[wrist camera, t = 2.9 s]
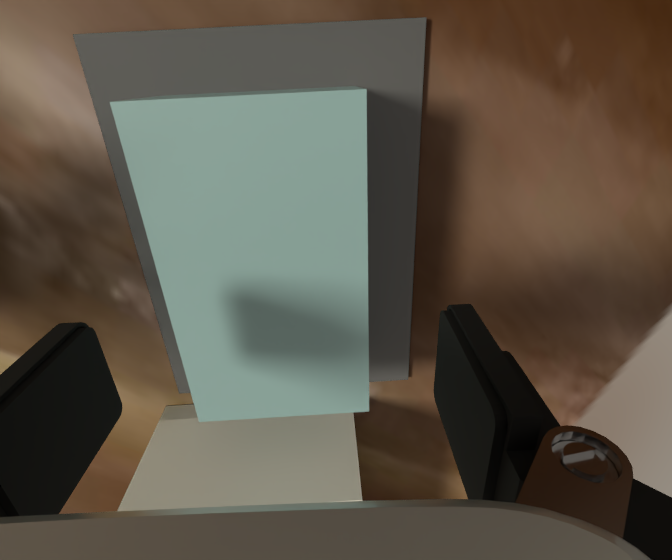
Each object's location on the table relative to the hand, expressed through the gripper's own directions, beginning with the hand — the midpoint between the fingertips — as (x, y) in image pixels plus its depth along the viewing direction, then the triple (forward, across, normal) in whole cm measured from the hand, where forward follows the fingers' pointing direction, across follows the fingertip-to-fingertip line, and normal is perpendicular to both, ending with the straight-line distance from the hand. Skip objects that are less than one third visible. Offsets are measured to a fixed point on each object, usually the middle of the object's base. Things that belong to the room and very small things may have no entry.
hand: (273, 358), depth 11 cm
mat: (+7, +1, -1) cm, 8 cm away
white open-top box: (+8, +3, +13) cm, 16 cm away
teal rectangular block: (+7, +1, -1) cm, 7 cm away
